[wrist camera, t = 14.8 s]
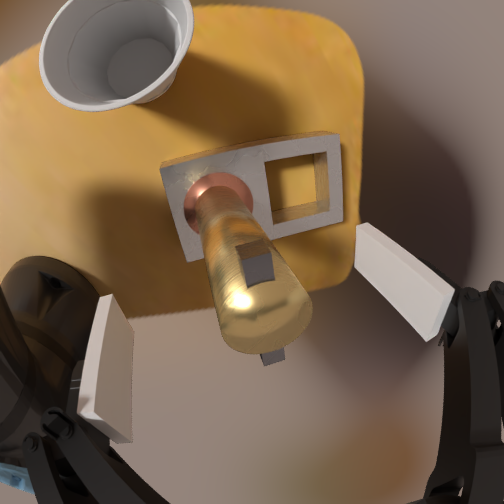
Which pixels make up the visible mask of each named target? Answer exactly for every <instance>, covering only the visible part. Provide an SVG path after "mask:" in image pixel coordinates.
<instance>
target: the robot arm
mask: <svg viewBox="0 0 504 504" xmlns="http://www.w3.org/2000/svg"><path fill="white" fill-rule="evenodd" d="M355 268H356V269H357V270H358V271H359V272H360V273H361V274H362V275H363V276H364V277H365V278H366V279H367V280H368V281H369V282H370V283H371V284H372V285H373V286H374V287H375V288H376V289H377V290H378V291H379V292H380V293H381V294H382V295H383V296H384V297H385V298H386V299H387V300H388V301H389V302H390V303H391V304H392V305H393V306H394V307H395V308H396V310H397V311H398V312H399V313H400V314H401V315H402V316H403V317H404V318H405V319H406V320H407V321H408V322H409V323H410V324H411V325H412V326H413V328H414V329H415V330H416V331H417V332H418V333H419V334H420V335H421V336H422V337H423V338H424V340H425V341H428V340H430V339H431V338H433V337H434V336H436V335H437V334H438V331H439V329H440V327H441V326H442V327H443V328H444V329H445V330H444V332H443V334H442V336H441V339H440V341H439V344H438V346H440V345H441V343H442V341H443V342H444V345H443V346H444V402H443V416H442V427H441V435H440V444H439V450H438V456H437V462H436V466H435V468H434V471H433V472H432V474H431V475H430V477H429V480H428V482H427V486H426V489H425V493H424V497H423V499H420V500H417V501H414V502H410V503H407V504H504V501H503V500H504V443H503V442H502V441H501V417H502V421H503V426H504V283H503V282H501V281H493V282H492V283H491V284H490V287H489V290H487V291H483V292H479V291H478V290H476V289H474V288H471V287H465V288H463V289H462V288H461V287H459V286H458V285H457V284H456V283H455V282H453V281H452V280H451V279H450V278H449V277H447V276H446V275H445V274H444V273H441V271H440V270H439V269H436V267H435V266H434V265H432V264H431V263H430V262H428V261H426V260H424V259H421V258H415V257H414V256H413V255H412V254H410V253H409V252H407V251H406V250H405V249H404V248H402V247H401V246H399V245H398V244H397V243H396V242H394V241H393V240H391V239H390V238H389V237H387V236H386V235H384V234H383V233H382V232H380V231H379V230H377V229H376V228H374V227H373V226H371V225H370V224H369V223H364V224H361V225H357V226H356V250H355ZM498 320H500V322H501V326H500V327H499V328H498V326H497V322H498ZM133 341H134V331H133V329H132V327H131V326H130V324H129V322H128V321H127V319H126V317H125V315H124V314H123V312H122V310H121V308H120V307H119V305H118V303H117V301H116V299H115V297H114V296H113V294H110V295H106V296H103V297H99V295H98V293H97V292H96V290H95V289H94V288H93V286H92V285H91V284H90V283H89V282H88V281H87V280H86V279H85V278H84V277H83V276H82V275H81V274H79V273H78V272H77V271H76V270H74V269H73V268H71V267H70V266H68V265H66V264H64V263H62V262H60V261H58V260H55V259H52V258H48V257H43V256H31V257H26V258H24V259H21V260H19V261H18V262H17V263H15V264H14V265H13V266H12V268H11V269H10V270H9V272H8V273H7V274H6V276H5V277H4V279H3V281H2V283H1V285H0V482H2V483H4V484H7V485H9V486H12V487H15V488H17V489H21V490H23V491H25V492H29V493H31V494H35V496H36V499H37V502H38V504H170V503H169V502H168V501H166V500H165V499H164V498H163V497H162V496H161V495H159V494H158V493H157V492H156V491H155V490H154V489H153V488H151V487H150V486H149V485H148V484H147V483H146V482H145V481H144V480H143V479H142V478H141V477H140V476H139V475H138V474H137V473H136V472H135V471H134V470H133V469H132V468H131V467H130V466H129V465H128V464H127V463H126V462H125V461H124V460H123V459H122V458H121V457H120V456H119V454H118V453H117V452H116V451H115V450H114V449H113V448H112V447H111V446H110V441H109V440H110V439H111V440H112V441H114V442H115V443H117V444H119V443H132V442H133V441H132V440H133V439H132V400H131V399H132V391H131V390H132V359H133V343H134V342H133ZM462 487H463V490H462V495H461V497H460V496H458V494H459V491H460V490H461V488H462Z"/></svg>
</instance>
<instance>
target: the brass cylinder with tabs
mask: <svg viewBox="0 0 504 504" xmlns="http://www.w3.org/2000/svg"><path fill="white" fill-rule="evenodd" d="M195 213H196V218H197V224H198V229H199V234H200V239H201V244H202V249H203V254H204V259H205V263H206V268H207V273H208V278H209V282H210V287H211V291H212V296H213V300H214V304H215V309H216V313H217V317H218V321H219V326H220V330H221V334H222V337H223V339H224V341H225V342H226V343H227V344H228V345H229V346H230V347H231V348H233V349H234V350H237V351H239V352H242V353H247V354H260V356H261V359H262V362H263V364H264V366H267V365H270V364H273V363H276V362H279V361H282V360H285V355H284V346H286V345H288V344H289V343H291V342H293V341H294V340H295V339H296V338H298V337H299V336H300V334H302V332H303V331H304V330H305V329H306V327H307V325H308V323H309V322H310V319H311V316H312V310H313V307H312V301H311V299H310V297H309V295H308V294H307V292H306V291H305V289H304V288H303V286H302V285H301V283H300V282H299V281H298V279H297V278H296V276H295V275H294V273H293V272H292V270H291V269H290V267H289V266H288V265H287V263H286V262H285V260H284V259H283V257H282V256H281V255H280V253H279V252H278V250H277V249H276V247H275V246H274V245H273V243H272V242H271V240H270V239H269V237H268V236H267V235H266V233H265V232H264V230H263V229H262V228H261V226H260V225H259V223H258V222H257V220H256V219H255V218H254V216H253V215H252V213H251V212H250V211H249V209H248V208H247V206H246V205H245V204H244V202H243V201H242V199H241V198H240V197H239V195H238V194H237V193H236V192H235V191H234V190H233V189H231V188H229V187H226V186H213V187H210V188H208V189H207V190H205V191H204V192H203V193H202V194H201V195H200V196H199V197H198V199H197V202H196V205H195Z"/></svg>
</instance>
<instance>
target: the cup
mask: <svg viewBox="0 0 504 504" xmlns="http://www.w3.org/2000/svg"><path fill="white" fill-rule="evenodd" d="M193 30H194V14H193V9H192V6H191V4H190V1H189V0H69V1H68V2H67V3H66V4H65V5H64V6H63V7H62V8H61V9H60V10H59V11H58V13H57V14H56V15H55V17H54V18H53V20H52V22H51V23H50V25H49V26H48V28H47V31H46V33H45V35H44V38H43V40H42V44H41V48H40V54H39V68H40V74H41V78H42V80H43V83H44V85H45V87H46V89H47V90H48V92H49V93H50V94H51V95H52V96H53V97H54V98H55V99H56V100H57V101H59V102H60V103H62V104H63V105H65V106H67V107H70V108H72V109H76V110H80V111H87V112H99V111H107V110H112V109H116V108H120V107H123V106H126V105H130V104H140V103H146V102H149V101H152V100H154V99H156V98H158V97H160V96H161V95H162V94H164V93H165V92H166V91H167V90H168V89H169V87H170V86H171V85H172V83H173V81H174V79H175V77H176V73H177V68H178V67H179V65H180V63H181V61H182V60H183V58H184V56H185V54H186V52H187V50H188V48H189V45H190V43H191V40H192V36H193Z"/></svg>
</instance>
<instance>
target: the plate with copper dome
mask: <svg viewBox="0 0 504 504" xmlns="http://www.w3.org/2000/svg"><path fill="white" fill-rule="evenodd" d="M312 153H313V160H314V172H315V184H316V199H317V201H315V202H311V203H306V204H302V205H298V206H293V207H289V208H285V209H281V210H276V211H272V212H271V206H270V199H269V192H268V185H267V178H266V171H265V165H264V162H266V161H271V160H276V159H282V158H288V157H293V156H299V155H305V154H312ZM160 173H161V176H162V180H163V184H164V188H165V191H166V195H167V198H168V202H169V205H170V209H171V212H172V216H173V219H174V222H175V226H176V229H177V232H178V235H179V239H180V242H181V245H182V248H183V251H184V254H185V258H186V261H187V263H188V262H191V261H195V260H199V259H202V258H204V254H203V249H202V244H201V239H200V234H199V229H198V224H197V218H196V213H195V205H196V202H197V199H198V197H199V196H200V195H201V194H202V193H203V192H204V191H205V190H207V189H208V188H210V187H213V186H226V187H229V188H231V189H233V190H234V191H235V192H236V193H237V194H238V195H239V197H240V198H241V199H242V201H243V202H244V204H245V205H246V206H247V208H248V209H249V211H250V212H251V213H252V215H253V216H254V218H255V219H256V220H257V222H258V223H259V225H260V226H261V228H262V229H263V230H264V232H265V233H266V235H267V236H268V237H269V239H270V240H273V239H277V238H281V237H285V236H289V235H292V234H296V233H300V232H304V231H308V230H311V229H315V228H319V227H323V226H327V225H330V224H334V223H338V222H342V221H343V191H342V167H341V150H340V137H339V134H337V133H332V132H327V131H318V132H309V133H301V134H294V135H287V136H280V137H274V138H268V139H262V140H256V141H251V142H246V143H240V144H235V145H231V146H226V147H221V148H217V149H212V150H208V151H204V152H200V153H195V154H191V155H188V156H184V157H180V158H176V159H173V160H169V161H165V162H162V163H161V166H160Z"/></svg>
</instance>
